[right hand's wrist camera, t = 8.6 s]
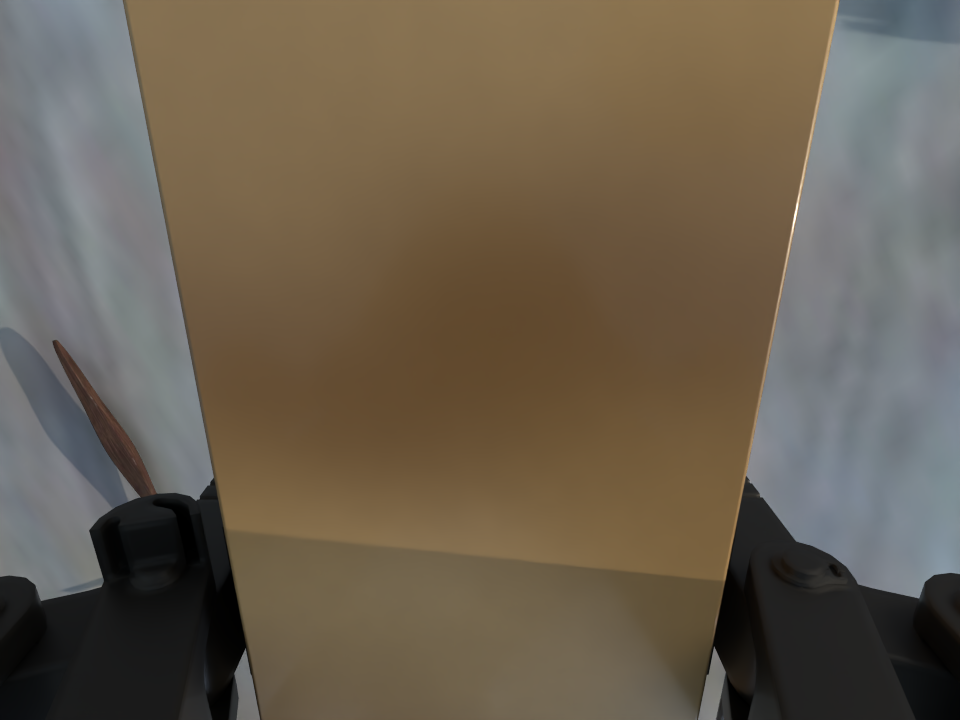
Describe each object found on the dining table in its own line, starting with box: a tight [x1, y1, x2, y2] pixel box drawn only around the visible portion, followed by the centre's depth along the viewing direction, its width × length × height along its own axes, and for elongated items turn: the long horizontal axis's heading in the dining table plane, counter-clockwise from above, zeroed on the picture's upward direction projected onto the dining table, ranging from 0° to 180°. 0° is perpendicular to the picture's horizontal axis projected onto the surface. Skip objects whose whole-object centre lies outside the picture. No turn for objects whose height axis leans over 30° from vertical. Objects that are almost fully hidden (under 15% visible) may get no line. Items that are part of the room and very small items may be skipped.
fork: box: [53, 340, 157, 497], centre depth 28 cm, size 3×16×2 cm, turn 17°
